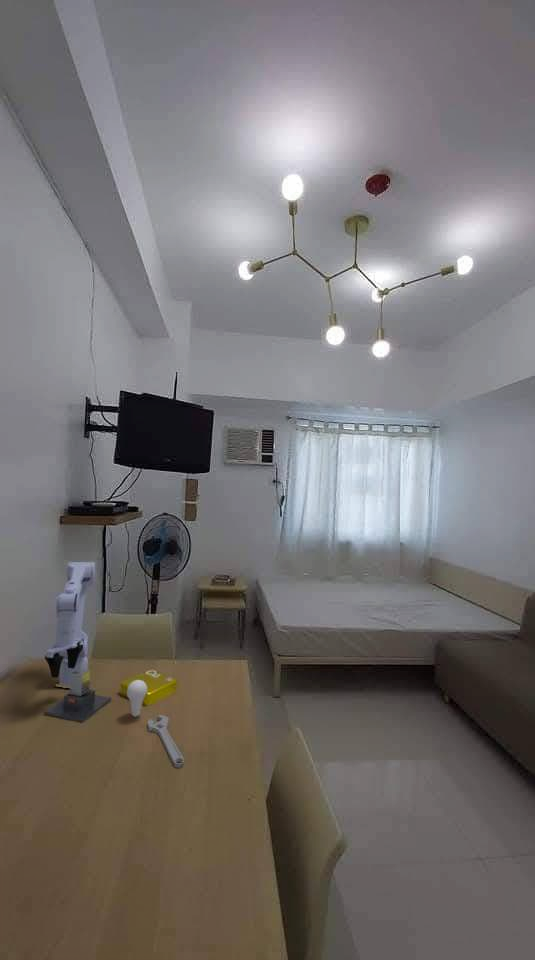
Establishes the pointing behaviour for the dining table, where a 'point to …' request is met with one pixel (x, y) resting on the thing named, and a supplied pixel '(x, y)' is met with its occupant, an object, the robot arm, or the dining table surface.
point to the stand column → (80, 682)
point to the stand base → (78, 706)
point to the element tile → (152, 686)
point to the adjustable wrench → (166, 739)
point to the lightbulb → (136, 695)
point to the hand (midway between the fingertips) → (63, 672)
